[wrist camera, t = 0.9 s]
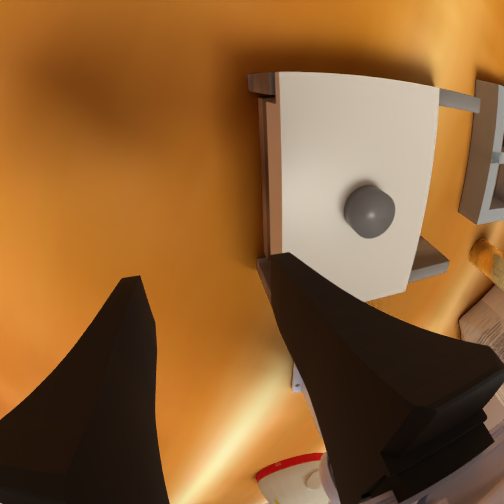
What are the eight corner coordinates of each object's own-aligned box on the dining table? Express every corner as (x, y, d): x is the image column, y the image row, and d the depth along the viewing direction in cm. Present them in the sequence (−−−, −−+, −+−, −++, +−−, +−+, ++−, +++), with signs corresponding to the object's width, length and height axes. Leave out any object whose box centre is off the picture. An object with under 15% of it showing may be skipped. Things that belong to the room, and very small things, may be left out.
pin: (481, 259, 28) (515, 290, 23) (465, 264, 27) (501, 298, 22) (488, 236, 26) (526, 266, 21) (473, 240, 26) (512, 272, 21)
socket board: (497, 207, 24) (514, 218, 22) (458, 212, 23) (476, 225, 21) (515, 94, 18) (534, 100, 16) (475, 79, 17) (498, 84, 15)
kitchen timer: (283, 454, 42) (309, 534, 29) (342, 449, 48) (369, 514, 35) (242, 481, 47) (260, 548, 35) (299, 477, 53) (319, 535, 40)
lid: (388, 272, 21) (413, 300, 18) (271, 296, 19) (286, 333, 17) (413, 83, 14) (453, 90, 11) (264, 72, 12) (287, 71, 10)
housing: (414, 243, 24) (446, 272, 20) (257, 270, 22) (274, 313, 18) (435, 88, 17) (480, 98, 13) (247, 73, 15) (269, 72, 11)
